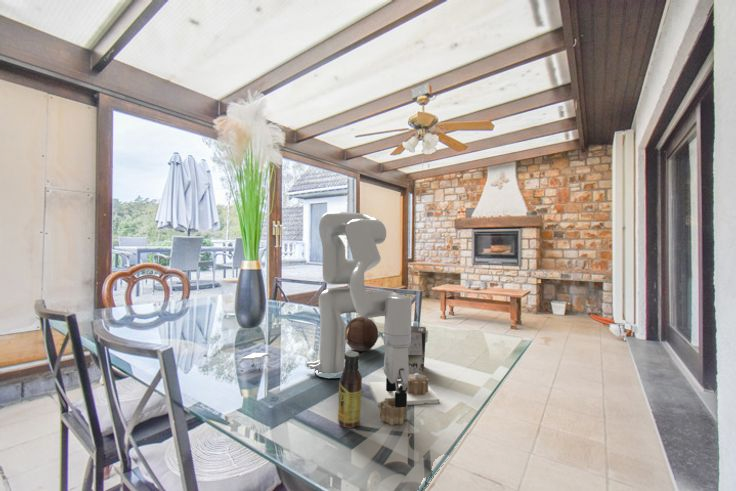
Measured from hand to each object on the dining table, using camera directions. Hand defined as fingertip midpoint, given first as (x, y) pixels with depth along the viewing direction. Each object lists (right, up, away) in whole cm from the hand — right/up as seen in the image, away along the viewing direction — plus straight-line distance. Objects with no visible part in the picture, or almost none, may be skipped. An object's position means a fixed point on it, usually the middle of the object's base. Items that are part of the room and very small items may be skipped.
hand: (395, 398), depth 98 cm
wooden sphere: (-11, -4, +56) cm, 57 cm away
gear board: (+4, -6, +16) cm, 17 cm away
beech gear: (-1, -6, +1) cm, 6 cm away
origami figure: (-51, -3, +32) cm, 61 cm away
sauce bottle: (-13, -6, -3) cm, 15 cm away
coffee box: (+11, -5, +37) cm, 39 cm away
